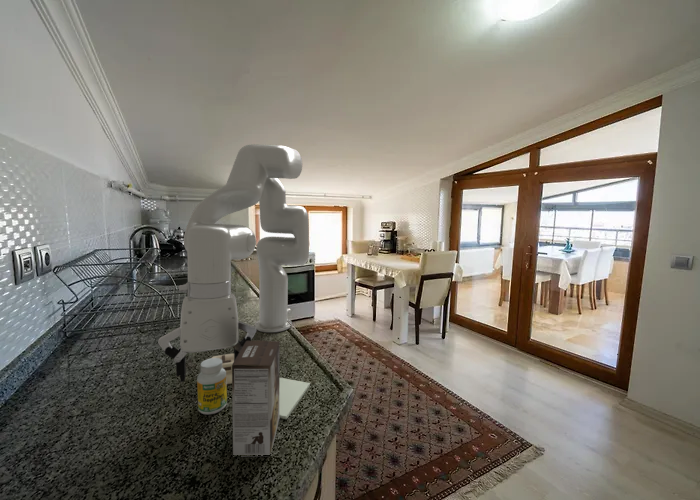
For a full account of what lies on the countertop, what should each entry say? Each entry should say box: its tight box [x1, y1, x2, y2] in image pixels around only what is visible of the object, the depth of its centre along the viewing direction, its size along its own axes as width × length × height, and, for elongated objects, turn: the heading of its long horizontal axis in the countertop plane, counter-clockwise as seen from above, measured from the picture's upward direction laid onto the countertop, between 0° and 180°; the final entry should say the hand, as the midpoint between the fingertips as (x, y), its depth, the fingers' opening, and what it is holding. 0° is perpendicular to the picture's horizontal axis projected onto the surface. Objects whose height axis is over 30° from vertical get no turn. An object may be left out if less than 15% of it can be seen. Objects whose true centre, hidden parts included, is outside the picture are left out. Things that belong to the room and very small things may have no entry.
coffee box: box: [231, 339, 281, 457], centre depth 52 cm, size 9×6×16 cm
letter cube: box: [211, 352, 234, 385], centre depth 70 cm, size 5×5×5 cm
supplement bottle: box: [196, 357, 228, 415], centre depth 60 cm, size 5×5×10 cm
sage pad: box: [279, 377, 311, 420], centre depth 64 cm, size 12×12×1 cm
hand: (210, 373), depth 59 cm, fingers open, 9 cm apart
